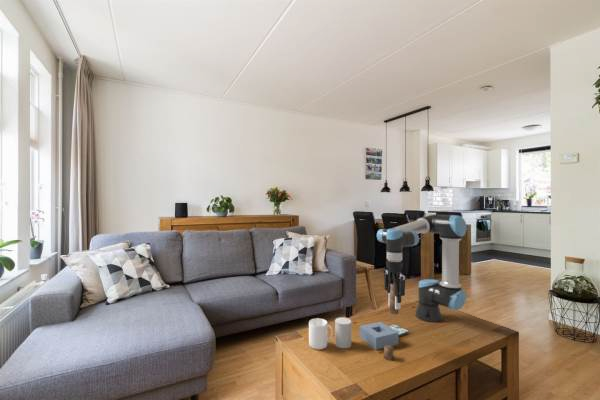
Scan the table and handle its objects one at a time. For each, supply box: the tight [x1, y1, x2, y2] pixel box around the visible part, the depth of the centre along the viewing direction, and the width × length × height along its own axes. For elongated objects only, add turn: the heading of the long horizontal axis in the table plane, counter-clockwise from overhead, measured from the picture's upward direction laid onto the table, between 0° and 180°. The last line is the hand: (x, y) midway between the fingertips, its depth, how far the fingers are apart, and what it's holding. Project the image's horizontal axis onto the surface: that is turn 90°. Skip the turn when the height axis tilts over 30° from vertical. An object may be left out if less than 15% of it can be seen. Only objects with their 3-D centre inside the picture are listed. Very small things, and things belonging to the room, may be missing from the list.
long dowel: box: [389, 282, 400, 315], centre depth 142 cm, size 4×4×14 cm
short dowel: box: [383, 345, 394, 361], centre depth 133 cm, size 4×4×5 cm
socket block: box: [359, 321, 400, 351], centre depth 149 cm, size 14×14×6 cm
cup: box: [334, 316, 352, 349], centre depth 146 cm, size 8×8×12 cm
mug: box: [308, 317, 334, 351], centre depth 145 cm, size 10×12×12 cm
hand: (394, 307), depth 142 cm, fingers closed on long dowel, 4 cm apart
